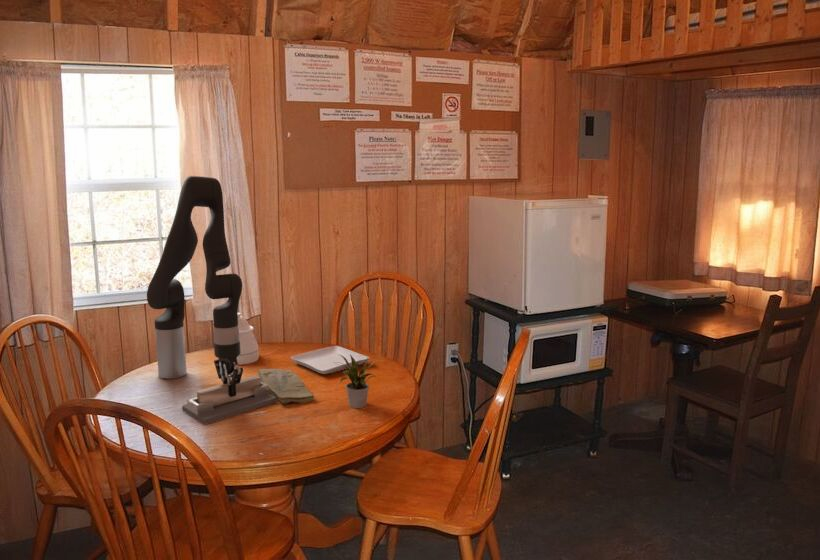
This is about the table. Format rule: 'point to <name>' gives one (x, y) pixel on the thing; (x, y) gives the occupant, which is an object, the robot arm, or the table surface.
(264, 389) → the end caps
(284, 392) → the stone slab
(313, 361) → the salad plate
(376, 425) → the table surface
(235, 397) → the slat
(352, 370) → the house plant
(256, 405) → the base board
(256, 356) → the honey pot
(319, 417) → the table surface
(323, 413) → the table surface
